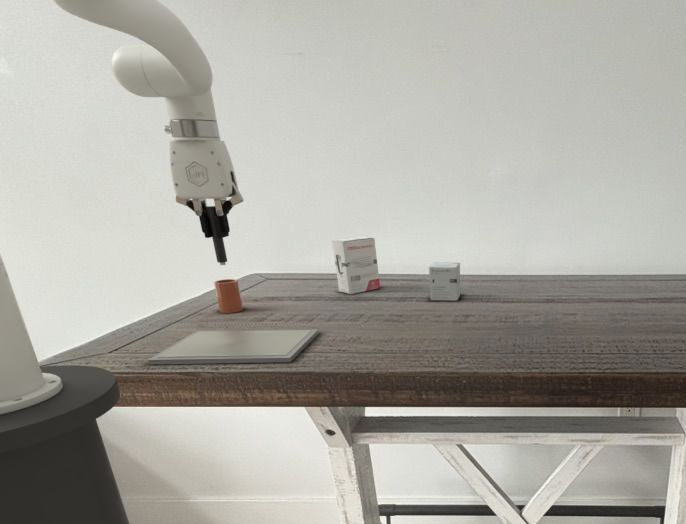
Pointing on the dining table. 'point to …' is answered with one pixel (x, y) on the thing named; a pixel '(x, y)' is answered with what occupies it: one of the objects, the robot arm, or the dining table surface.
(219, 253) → the stylus
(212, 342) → the tablet
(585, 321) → the dining table surface
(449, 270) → the product carton
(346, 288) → the ink box
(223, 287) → the pen cup
